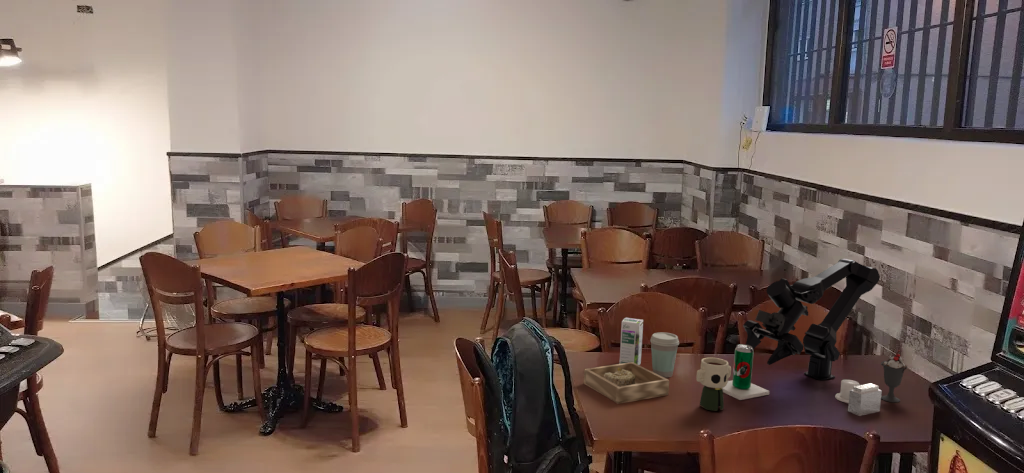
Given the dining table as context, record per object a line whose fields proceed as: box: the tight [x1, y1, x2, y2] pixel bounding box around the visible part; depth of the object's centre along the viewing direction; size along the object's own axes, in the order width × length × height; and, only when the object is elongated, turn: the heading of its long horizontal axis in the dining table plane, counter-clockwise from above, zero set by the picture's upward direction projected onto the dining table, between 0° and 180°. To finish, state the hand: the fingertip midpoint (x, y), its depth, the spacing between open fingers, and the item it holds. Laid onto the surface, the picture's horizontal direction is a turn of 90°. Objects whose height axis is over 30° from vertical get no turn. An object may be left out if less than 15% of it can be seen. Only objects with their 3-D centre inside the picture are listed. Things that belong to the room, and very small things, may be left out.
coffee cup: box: [650, 332, 680, 379], centre depth 227 cm, size 8×8×12 cm
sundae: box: [880, 349, 908, 404], centre depth 212 cm, size 7×7×15 cm
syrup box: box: [618, 317, 644, 366], centre depth 235 cm, size 6×6×14 cm
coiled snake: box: [604, 368, 636, 387], centre depth 216 cm, size 10×10×5 cm
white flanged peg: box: [834, 379, 860, 404], centre depth 212 cm, size 7×7×5 cm
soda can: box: [732, 343, 755, 390], centre depth 215 cm, size 5×5×12 cm
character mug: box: [695, 357, 732, 412], centre depth 201 cm, size 11×7×13 cm, turn 113°
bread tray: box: [583, 362, 670, 405], centre depth 214 cm, size 17×17×4 cm
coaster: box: [722, 379, 770, 401], centre depth 216 cm, size 11×11×1 cm
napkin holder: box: [847, 382, 883, 417], centre depth 203 cm, size 8×4×7 cm, turn 117°
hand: (756, 359), depth 217 cm, fingers open, 9 cm apart
